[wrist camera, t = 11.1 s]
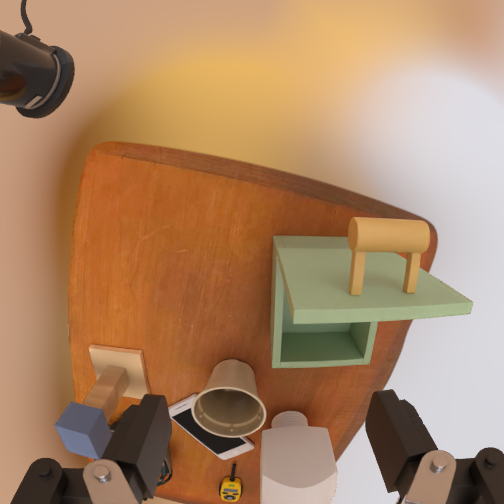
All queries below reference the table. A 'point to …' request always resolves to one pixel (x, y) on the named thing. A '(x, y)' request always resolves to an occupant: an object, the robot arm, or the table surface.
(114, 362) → the post
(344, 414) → the table surface
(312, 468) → the light fixture
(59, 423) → the block
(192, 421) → the smartphone
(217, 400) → the flower pot
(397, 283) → the lid
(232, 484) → the yellow walkie talkie
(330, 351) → the chest
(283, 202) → the table surface
